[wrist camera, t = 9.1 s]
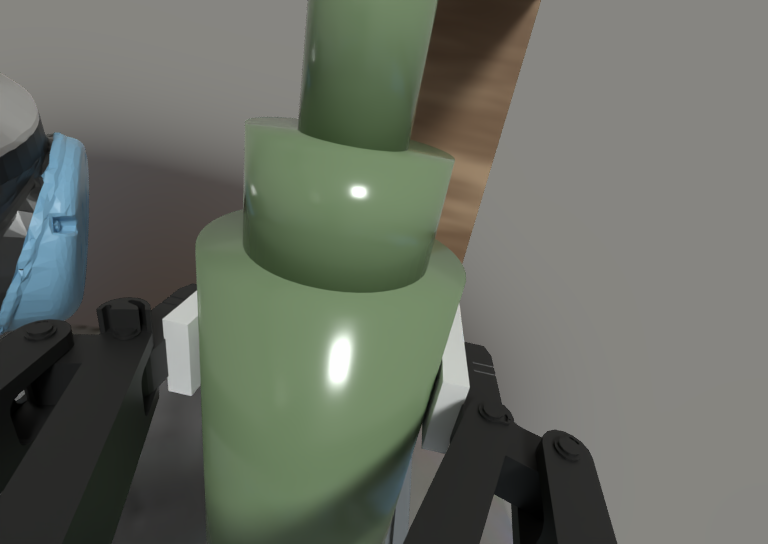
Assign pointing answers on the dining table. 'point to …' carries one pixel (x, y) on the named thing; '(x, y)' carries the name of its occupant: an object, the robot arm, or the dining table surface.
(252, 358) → the wine bottle
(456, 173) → the shelf
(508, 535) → the dining table surface
